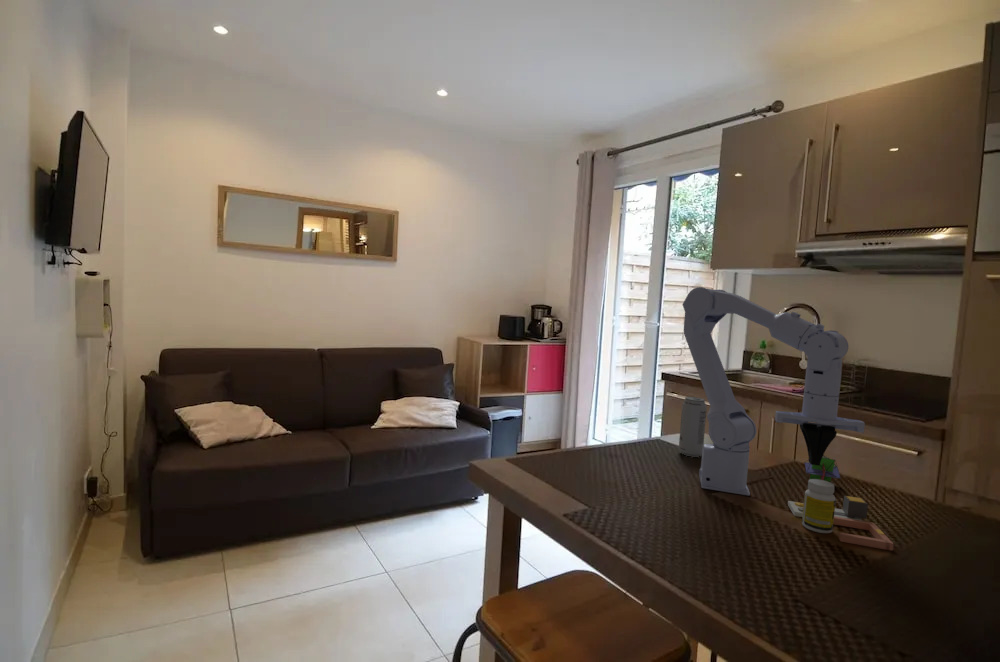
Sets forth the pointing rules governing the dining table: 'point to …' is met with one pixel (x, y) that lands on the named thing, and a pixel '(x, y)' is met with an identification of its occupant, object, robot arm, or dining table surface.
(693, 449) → the energy drink can
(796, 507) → the panel
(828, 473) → the geometric puzzle
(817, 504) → the supplement bottle
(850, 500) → the block
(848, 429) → the robot arm
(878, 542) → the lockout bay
